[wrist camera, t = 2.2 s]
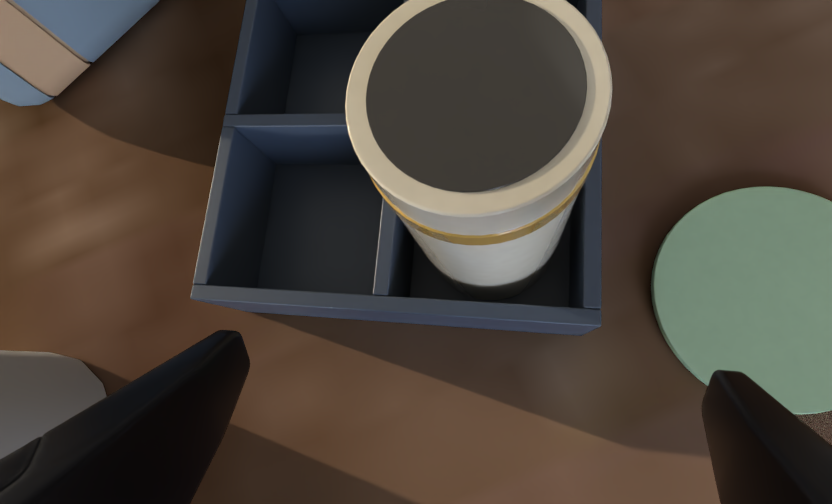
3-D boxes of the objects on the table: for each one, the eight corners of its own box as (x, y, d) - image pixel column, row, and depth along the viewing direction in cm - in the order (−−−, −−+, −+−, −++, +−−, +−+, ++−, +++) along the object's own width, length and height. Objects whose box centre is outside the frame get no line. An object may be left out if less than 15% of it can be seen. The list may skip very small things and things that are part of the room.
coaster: (829, 465, 18) (836, 467, 17) (608, 321, 20) (609, 321, 20) (949, 266, 19) (959, 264, 18) (722, 151, 21) (726, 147, 21)
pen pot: (508, 327, 21) (509, 274, 9) (402, 254, 22) (290, 130, 11) (582, 220, 21) (673, 40, 10) (474, 155, 23) (440, -65, 11)
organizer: (582, 336, 20) (601, 326, 16) (246, 311, 23) (189, 298, 19) (585, 17, 24) (602, -59, 20) (291, 31, 27) (251, -32, 23)
